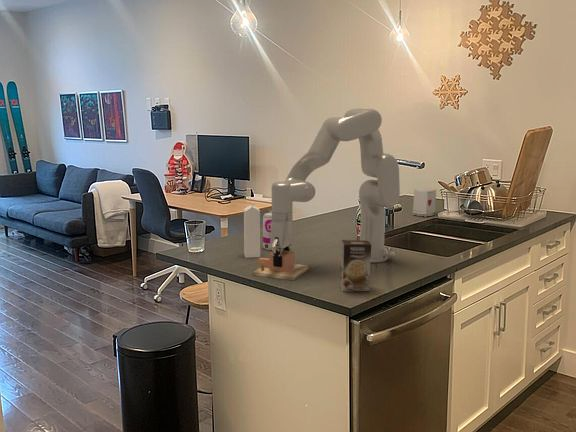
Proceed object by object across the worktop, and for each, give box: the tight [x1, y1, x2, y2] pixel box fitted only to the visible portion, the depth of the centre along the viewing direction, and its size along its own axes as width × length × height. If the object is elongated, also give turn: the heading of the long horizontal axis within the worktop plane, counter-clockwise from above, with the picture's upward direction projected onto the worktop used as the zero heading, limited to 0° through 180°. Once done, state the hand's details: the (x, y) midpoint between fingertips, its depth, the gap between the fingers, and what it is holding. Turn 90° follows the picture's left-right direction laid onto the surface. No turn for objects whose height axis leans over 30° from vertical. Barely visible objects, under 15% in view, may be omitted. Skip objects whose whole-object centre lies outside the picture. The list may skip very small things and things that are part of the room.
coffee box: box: [339, 239, 372, 292], centre depth 190 cm, size 9×6×16 cm
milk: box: [243, 200, 261, 259], centre depth 232 cm, size 6×6×22 cm
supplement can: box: [262, 212, 280, 251], centre depth 244 cm, size 8×8×15 cm
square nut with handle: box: [257, 249, 295, 272], centre depth 211 cm, size 12×7×6 cm, turn 68°
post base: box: [252, 262, 310, 281], centre depth 211 cm, size 16×16×5 cm
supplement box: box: [412, 187, 437, 214], centre depth 320 cm, size 9×9×15 cm
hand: (282, 263), depth 211 cm, fingers open, 7 cm apart
